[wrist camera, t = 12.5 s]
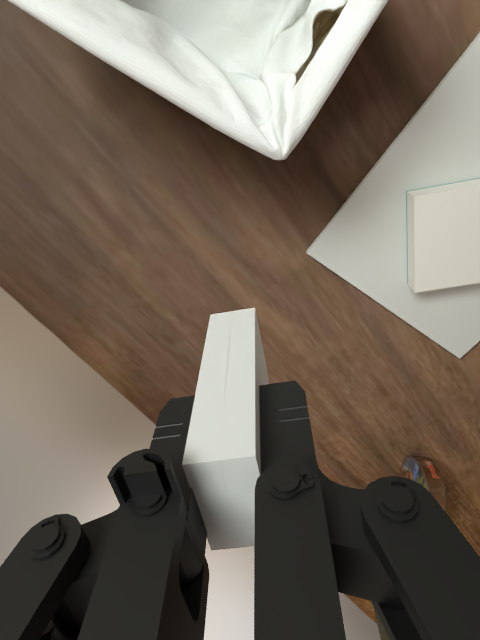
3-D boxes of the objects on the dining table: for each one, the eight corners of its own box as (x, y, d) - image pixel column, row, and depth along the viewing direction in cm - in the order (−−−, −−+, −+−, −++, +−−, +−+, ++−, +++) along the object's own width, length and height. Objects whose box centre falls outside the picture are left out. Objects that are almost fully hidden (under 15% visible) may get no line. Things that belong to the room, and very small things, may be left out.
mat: (481, 29, 37) (484, 29, 37) (644, 186, 43) (649, 188, 43) (306, 251, 47) (306, 253, 47) (457, 355, 53) (459, 358, 52)
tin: (407, 442, 60) (429, 493, 52) (430, 443, 60) (455, 494, 52) (387, 517, 67) (404, 571, 59) (408, 518, 67) (428, 572, 59)
